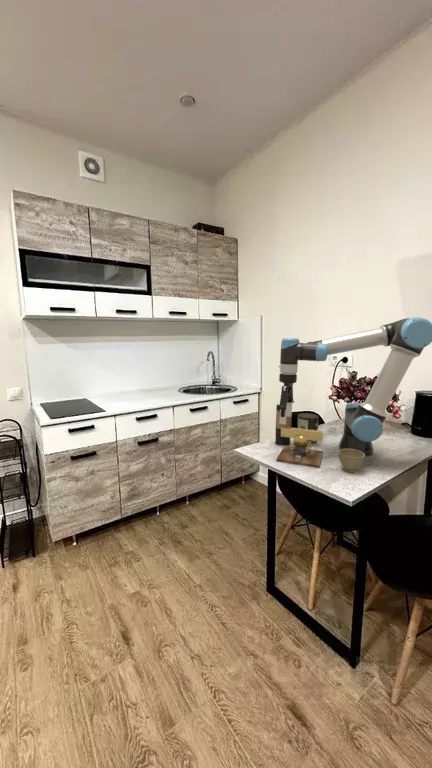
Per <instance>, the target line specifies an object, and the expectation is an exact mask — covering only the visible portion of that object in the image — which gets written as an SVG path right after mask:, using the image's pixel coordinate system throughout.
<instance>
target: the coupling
mask: <svg viewBox="0 0 432 768" xmlns="http://www.w3.org/2000/svg"><path fill="white" fill-rule="evenodd" d="M281 436H282V437H289V438H290V439H293V440H292V442H290V446H291V450H294V447H295V445H297V446H306V452H309V449H311V447H312V446H311V441H308V440H313V441H317V442H319V443H320V442H323V441H324V440H323V439H324V430H318V431H316V430H308V429H299V428H298V427H292V426H291V427H283V426H282V427H281Z"/></svg>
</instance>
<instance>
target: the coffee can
mask: <svg viewBox="0 0 432 768" xmlns="http://www.w3.org/2000/svg"><path fill="white" fill-rule="evenodd" d="M319 418H320V416H319V415H317V414H315V413H310V412H309V413H307V412H305V413H303V412H301V413H298V414H297V428H299V429H308V430H316V431H319ZM308 441H311V447H312V446H316V445H318V441H313V440H308Z"/></svg>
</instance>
